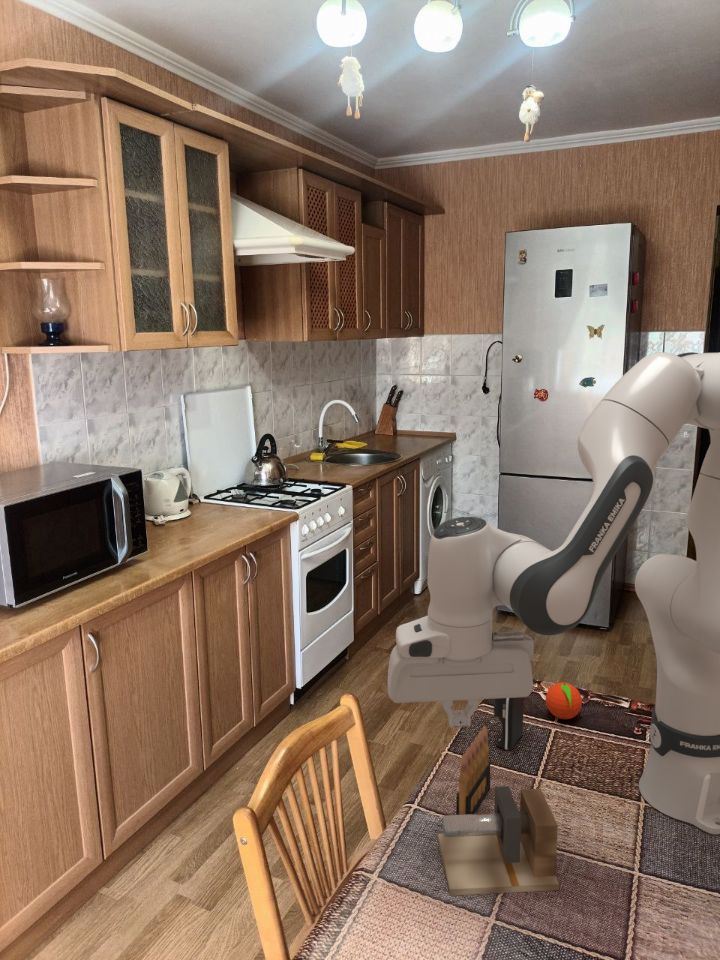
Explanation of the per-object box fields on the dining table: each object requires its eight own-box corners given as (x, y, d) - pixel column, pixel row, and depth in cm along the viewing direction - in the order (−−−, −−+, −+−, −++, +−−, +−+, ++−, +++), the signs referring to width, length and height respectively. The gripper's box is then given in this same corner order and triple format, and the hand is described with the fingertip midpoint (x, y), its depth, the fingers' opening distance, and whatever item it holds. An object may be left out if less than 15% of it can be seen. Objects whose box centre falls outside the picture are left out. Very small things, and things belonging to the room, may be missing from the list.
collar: (507, 828, 107) (508, 786, 105) (519, 862, 100) (521, 817, 98) (493, 828, 107) (495, 786, 105) (505, 863, 100) (506, 818, 98)
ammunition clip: (466, 827, 111) (468, 757, 109) (455, 823, 112) (456, 754, 110) (490, 789, 121) (491, 724, 118) (479, 785, 121) (481, 721, 119)
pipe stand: (535, 834, 109) (537, 782, 108) (558, 890, 99) (561, 832, 97) (437, 839, 109) (438, 786, 107) (450, 895, 98) (450, 837, 96)
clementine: (587, 728, 138) (589, 694, 136) (552, 729, 138) (553, 695, 136) (575, 707, 146) (576, 674, 144) (540, 708, 146) (542, 675, 144)
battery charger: (504, 729, 138) (506, 674, 136) (523, 734, 136) (525, 679, 134) (490, 746, 133) (491, 690, 130) (510, 752, 131) (512, 695, 128)
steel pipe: (534, 824, 104) (535, 805, 104) (540, 839, 101) (541, 819, 101) (442, 828, 104) (442, 809, 103) (445, 843, 101) (445, 824, 100)
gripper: (527, 621, 103) (525, 709, 106) (385, 627, 102) (387, 716, 105) (540, 640, 97) (538, 733, 100) (389, 647, 96) (390, 740, 99)
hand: (459, 724), depth 102 cm, fingers closed
